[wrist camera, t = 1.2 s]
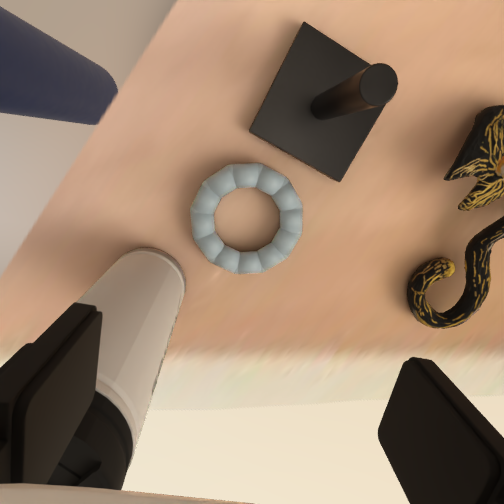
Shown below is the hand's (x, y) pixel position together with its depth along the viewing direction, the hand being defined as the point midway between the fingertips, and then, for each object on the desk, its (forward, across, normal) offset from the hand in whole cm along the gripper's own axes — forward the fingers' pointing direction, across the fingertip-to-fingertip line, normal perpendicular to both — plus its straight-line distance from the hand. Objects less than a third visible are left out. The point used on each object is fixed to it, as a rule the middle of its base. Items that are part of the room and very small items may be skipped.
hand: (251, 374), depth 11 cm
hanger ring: (+18, 0, -1) cm, 18 cm away
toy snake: (+19, -18, -4) cm, 27 cm away
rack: (+19, -4, -10) cm, 22 cm away
